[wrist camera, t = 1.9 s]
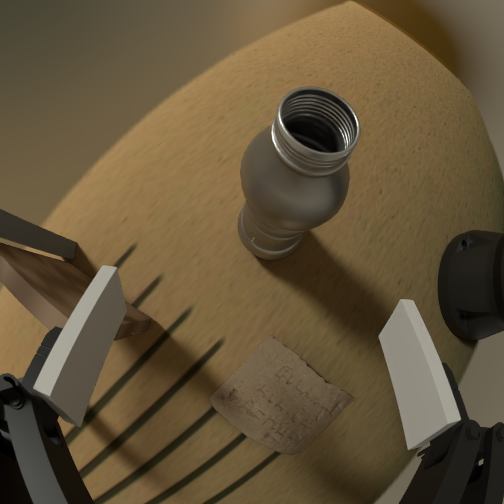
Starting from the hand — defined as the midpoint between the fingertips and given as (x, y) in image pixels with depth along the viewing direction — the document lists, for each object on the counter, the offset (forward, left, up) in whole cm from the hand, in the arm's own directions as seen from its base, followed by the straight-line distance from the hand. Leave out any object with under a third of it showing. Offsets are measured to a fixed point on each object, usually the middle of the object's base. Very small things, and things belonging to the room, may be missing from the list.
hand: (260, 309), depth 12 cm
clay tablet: (-5, +10, -17) cm, 21 cm away
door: (+16, +1, -16) cm, 22 cm away
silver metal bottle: (-1, -8, -17) cm, 19 cm away
